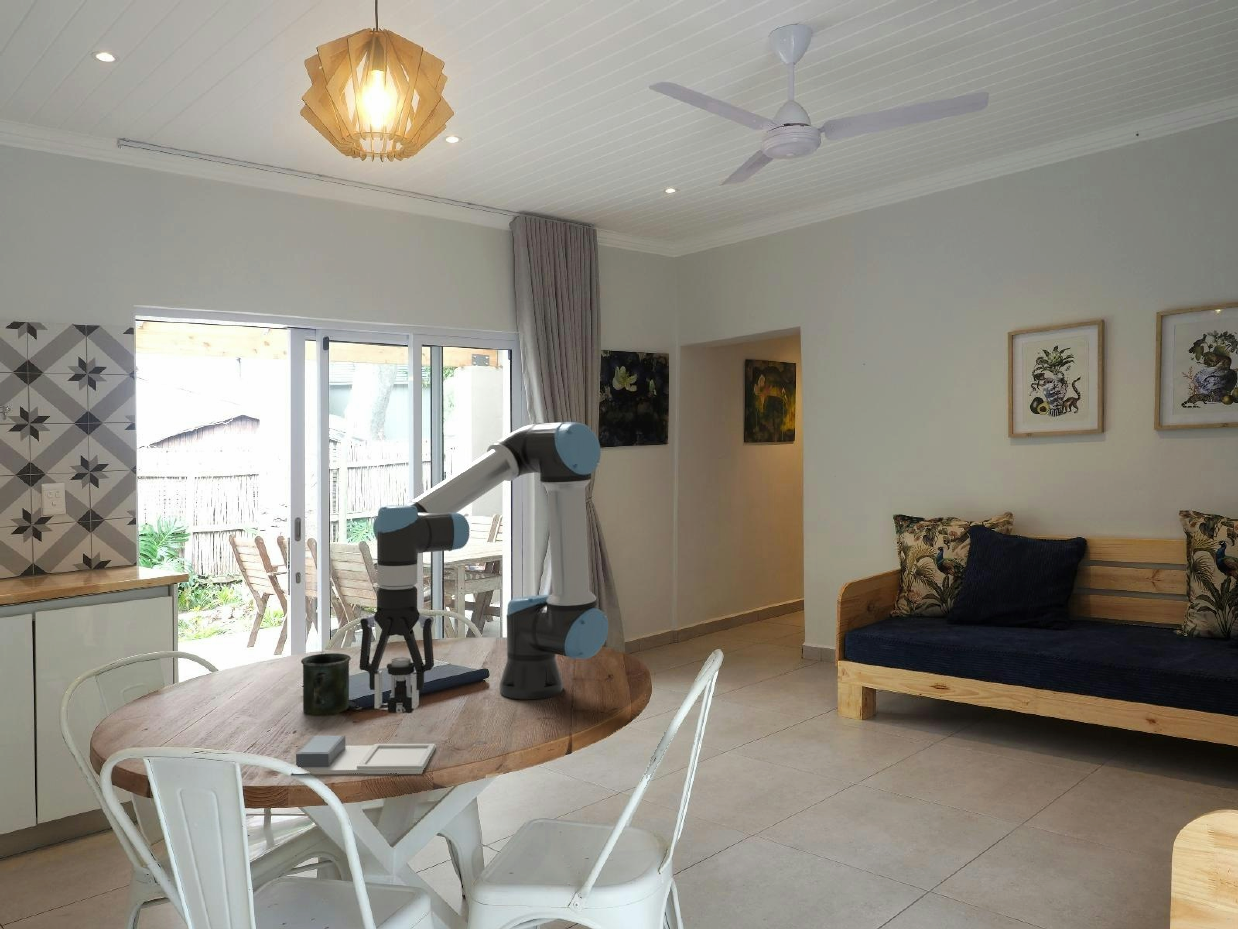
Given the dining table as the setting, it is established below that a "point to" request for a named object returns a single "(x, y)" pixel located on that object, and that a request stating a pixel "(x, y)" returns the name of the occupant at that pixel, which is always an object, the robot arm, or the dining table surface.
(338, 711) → the mug
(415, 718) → the dining table surface
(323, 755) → the blue-grey rectangular block
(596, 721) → the dining table surface
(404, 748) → the board
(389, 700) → the push button
